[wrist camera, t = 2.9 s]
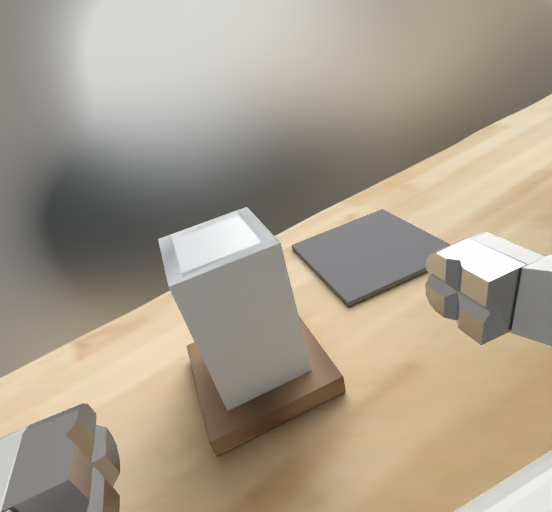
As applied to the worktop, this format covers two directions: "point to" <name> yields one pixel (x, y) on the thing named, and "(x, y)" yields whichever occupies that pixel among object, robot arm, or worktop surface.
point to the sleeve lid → (237, 304)
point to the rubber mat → (368, 255)
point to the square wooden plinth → (264, 398)
